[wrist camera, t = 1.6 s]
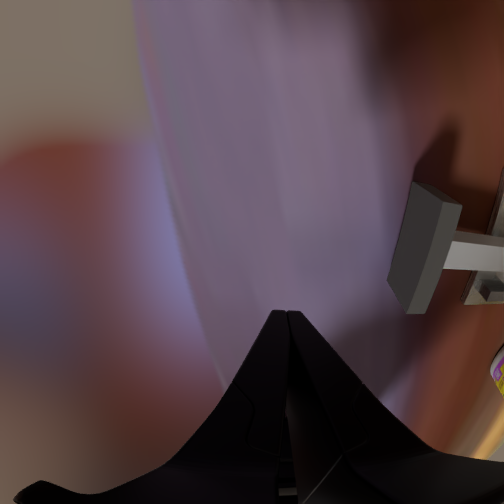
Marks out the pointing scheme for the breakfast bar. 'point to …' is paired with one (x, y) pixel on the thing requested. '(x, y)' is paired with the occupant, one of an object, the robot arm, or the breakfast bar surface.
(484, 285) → the track
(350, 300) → the breakfast bar surface
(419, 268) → the thick grey end plate
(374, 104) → the breakfast bar surface
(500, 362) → the supplement bottle
